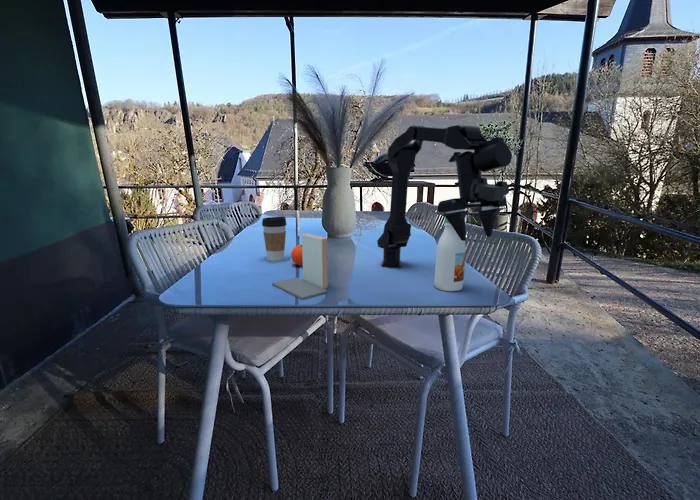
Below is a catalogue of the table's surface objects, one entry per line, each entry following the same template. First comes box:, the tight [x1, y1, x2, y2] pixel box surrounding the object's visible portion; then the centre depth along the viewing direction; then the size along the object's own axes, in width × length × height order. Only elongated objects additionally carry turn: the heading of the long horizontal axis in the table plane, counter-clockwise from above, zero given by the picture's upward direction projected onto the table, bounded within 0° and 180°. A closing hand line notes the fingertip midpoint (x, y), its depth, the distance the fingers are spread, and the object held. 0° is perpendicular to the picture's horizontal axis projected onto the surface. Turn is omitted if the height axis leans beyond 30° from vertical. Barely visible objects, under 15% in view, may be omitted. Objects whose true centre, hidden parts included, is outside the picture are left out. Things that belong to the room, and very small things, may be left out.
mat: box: [271, 277, 328, 301], centre depth 99 cm, size 8×15×1 cm, turn 41°
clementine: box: [290, 244, 303, 267], centre depth 121 cm, size 8×7×7 cm
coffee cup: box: [261, 216, 287, 262], centre depth 127 cm, size 8×8×15 cm
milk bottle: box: [433, 216, 467, 292], centre depth 99 cm, size 8×8×20 cm
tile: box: [301, 232, 328, 290], centre depth 101 cm, size 2×9×14 cm, turn 41°
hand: (476, 238), depth 90 cm, fingers open, 9 cm apart
